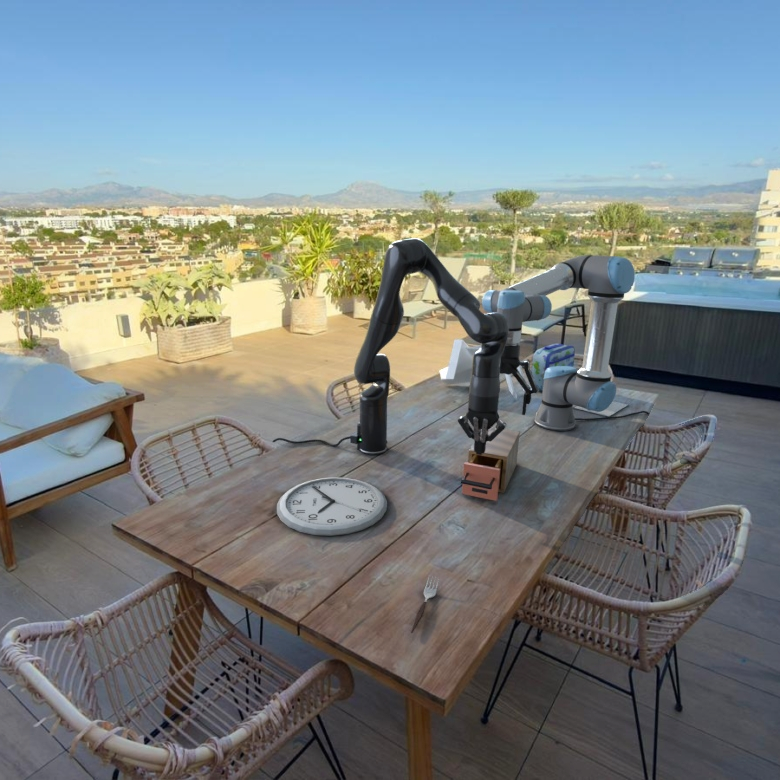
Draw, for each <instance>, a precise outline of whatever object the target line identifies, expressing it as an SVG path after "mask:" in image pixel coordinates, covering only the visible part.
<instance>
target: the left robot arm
mask: <svg viewBox="0 0 780 780" xmlns="http://www.w3.org/2000/svg"><path fill="white" fill-rule="evenodd" d="M383 259H384V260H383V265H382V272H381V277H380V283H379V287H378V290H377V293H376V294H377V295H376V299H375V302H374V305H373V308H372V312H371V315H370V317H369V318H370V319H369V321H368V326H367V330H366V332H365V336H364V339H363V342H362V345H361V346H360V349H359V352H358V354H357V356H356V359H355V362H354V368H353V374H354V378H355V380H356V382H358V383H359V384H362V385H368V384H371V385H370V386H369V387H368V388H366V389H365V390H363V391H361V393H360V394H359V422H358V423H357V425H356V431H355V432H354V433H352V434H351V435H349V436H346V437H342V438H341V439H340V440H339V441H338V442H337V443H335V444H332V443H330V442H328V441H325V440H323V439H306V440H300V441H299V440H298V441H294V440H290V439H286V438H283V437H276V438H274V439H272V441H271V442H272V443H276V442H277V441H282V442H287V443H289V444H296V445H297V444H306V443H315V442H317V443H321V444H322V443H323V444H325V445H326V446H329V447H338V446H340V445H341V444H342V442H344V441H346V440H349V441H350V444H353V445H357V446H356V450H357V451H360V452H361V453H363V454H365V455H371V456H372V455H373V456H374V455H376V456H377V455H381V454H384V453H386V452H387V450H388V439H387V438H388V437H387V436H388V397H389V394H390V381H391V379H390V378H391V365H390V360H389V358H388V356H387V355H386V354H384V353H379V352H380V351H382V349H383V348H385V347H386V346H387V345H388V344H389V343H390V342H391V341H392V340H393V339H394V338H395V337H396V335H397V334H398V332H399V330H400V327H401V324H402V322H403V318H404V315H405V307H404V304H403V301H402V298H401V288H402V285H403V282H404V279H405V278H406V277H407V276H408V275H413V274H417V273H420V274H422V275H423V276H424V277H426V278H427V279H428V280H430V282H431V283H432V285H433V288H434V290H435V295H436V297H437V299H438V301H439V302H440V304H441V305H442V306H443V307H444V308H445V309H446V310H447V311H448V312H449V313H450V314H451V315H453V316H454V317H455V318H456V319H457V320H458V322H459V324H460V326H462V327H461V328H463V330H464V332H465V333H466V334H467V336H468V337H469V338H470V339H471V340H472V341H474V342H476V343H478V344H480V345H481V348H480V349H479V350H478V351H477V352H475V353H474V355H473V360H472V374H471V380H470V382H469V389H468V391H469V392H468V406H467V410H466V413H465V414H464V415H461V416H460V417H459V418H458V419H457V423H458V424H459V425H460V427H461V428H462V430H463V431H464V433H465V434H466V437H467V438H468V439H472V440H473V441H474V442H473V444H474V452H476V454H478V455H482V454H483V453H484V452H485V450H486V441H492V440H493V439H494V438H495V437H496V436H497V435H498V434H499V433H501V432H502V431H503V430H504V429H506V427H507V423H506V422H505V421H504V422H503V421H502V420H501V419H500V415H499V412H498V411H499V398H500V391H501V388H500V387H501V380H500V376H501V374H500V363H501V357H502V354H503V352H504V348H505V345H506V342H507V338H508V333H509V325H508V321H507V319H506V317H505V316H504V315H503V314H501V313H497V312H494V313H488V312H487V313H483V312H482V311H481V310H480V307H481V302H480V301H479V299H478V298H477V297H476V296H475V295H474V294H473V293H472V292H471V291H469V290H468V289H467V288H466V287H465V286H464V285H462V284H461V283H460V282H459V281H458V280H457V279H456V278H455V277H454V276H453V275H452V274H451V273H450V271H449V270H448V269H447V268H446V267H445V265H444V263H442V262H441V260H440V259H439V258H438V257H437V255H436V254H435V253H434V252H433V250H432V249H431V248H430V247H429V246H428V244H427V243H426V242H424V241H423V240H422V239H420V238H415V237H414V238H413V237H412V238H406V239H401V240H396V241H394V242H392V243H390V244H389V245H388V247H387V249H386V251H385V255H384V258H383ZM495 424H496V425H495ZM494 425H495V428H497V429H495V430H494V431H493V432H492V433H491V434H490V435H488V431H489V429H490V428H491V427H494ZM480 438H481V439H480Z"/></svg>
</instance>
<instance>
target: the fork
mask: <svg viewBox="0 0 780 780" xmlns="http://www.w3.org/2000/svg"><path fill="white" fill-rule="evenodd" d="M430 576H431V574H429V575H428V578H427V581H426V585H425V587H424V589H423V595H424V598H425V600H424V601H423V603H422V604H421V605H420V607H419V608H418V610H417V613H416V615H415V619H414V622H413V626H412V629H411V630H410V631H411V632H410V634H413V633H414V632H415V629H416V627H418V624H419V622H420V621H421V619H422V618H423V616H424V613H425V609H426V605H427V603H428V600H429V599H432V598H434V597H435V596H436V595H437V592H438V588H439V584H440V583H439V582H440V576H439V577H438V579H437V577H435V578H434V575H432V577H431V579H430ZM433 578H434V579H433ZM433 580H434V581H433ZM436 580H437V582H436ZM429 582H430V583H429ZM432 583H433V584H432ZM435 585H436V586H435Z"/></svg>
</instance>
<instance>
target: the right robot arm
mask: <svg viewBox="0 0 780 780" xmlns="http://www.w3.org/2000/svg"><path fill="white" fill-rule="evenodd" d="M635 273H636V272H635V269H634V265H633V264H632V262H631V261H630V259H628V258H627V257H622V256H616V255H595V254H594V255H593V254H584V255H583V254H582V255H579V256H576V257H575V256H574V257H572V258H569V259H566V260H563V261H561V262H558V263H556V264H554V266H553V267H552V268H551V269H550V270H547V271H544V272H542V273H539V274H537V275H535V276H533V277H531V278H528V279H526V280H524V281H520V282H518V283H516V284H514V285H511V286H509V287H506V288H504V289H501V290H497V289H490V290H487V291H486V292H485V293H484V295H483V297H482V300H481V306H482V309H483V310H484V311H485V312H486V313H487V314H488V313H494V312H497V313H501V314H503V315H504V316H505V317H506V319H507V321H508V325H509V333H508V338H507V342H506V345H505V348H504V352H503V354H502V357H501V363H500V375H502V374H504V375H505V374H508V375H509V374H510V375H512V376H513V377H514V378H515V380H516V381H517V382H518V384H519V385H520V386H521V389H522V388H523V389H524V390H525V393H524V392H523V400H522V410H521V416H525V415H526V413H527V405H530V404H531V403H532V402H531V401H532V394H537V393H538V391H539V390H538V387H537V385H536V382H535V380H534V377H533V375H532V369H531V368H530V367H531V366H530V365H531V364H530V361H529V360H528V359H527V360H523V361H522V360H520V352H521V345H520V343H521V342H522V341H521V340H522V333H523V332H522V331H523V330H522V329H523V323H526V322H534V321H535V322H536V321H537V322H538V321H541V320H544V319H547V318H548V317H549V316H550V315H551V312H552V307H553V305H552V301H551V300H550V298H549V297H548V295H551V294H553V293H555V292H557V291H567V290H569V289H583V290H587V297H588V298H589V299H590V301H591V302H590V308H589V309H590V310H589V316H588V323H587V330H586V337H585V344H584V352H583V357H582V366H581V367H580V368H579V369H578V368H577V367H576V366H573V367H571V366H555V367H549V368H547V369H546V371H545V375H544V378H543V379H544V381H543V390H542V394H541V402H540V405H539V407H538V410H537V411H536V413H535V417H534V424H535V425H536V426H537V427H539V428H542V429H544V430H549V431H556V432H567V431H572V430H574V429H575V428H576V421H599V420H611V419H612V420H613V419H623V418H626V417H630V416H633V415H638V414H644V413H645V414H647V415H650V413H649V412H648V411H646V410H640V411H636V412H630V413H627V414H624V415H619V416H616V415H615V416H609V417H608V416H604V417H593V418H592V417H591V418H582V417H581V418H580V417H579V418H578V417H576V416H575V413H574V407H573V406H575V407H576V406H579V407H582V408H585V409H587V410H592V411H596V412H601V411H604V410H605V409H607V408H608V407H609V405H610V404H611V403H612V401H614V400H615V398H616V397H615V396H616V394H617V386H616V385H617V384H615V383H614V381H612V380H611V379H612V374H611V372H610V371H609V363H610V358H611V350H612V346H613V345H612V344H613V338H614V333H615V332H614V331H615V327H616V326H615V325H616V318H617V313H618V306H619V303H620V302H621V301H622V300H624V299H625V294H628V293H629V292H630V291H631V290H632V287H633V286H634V283H635V278H636V277H635V275H636V274H635ZM519 365H521V368H522V370H524V373H525V376H526V378H527V380H528V381H526V379H525V380H524V378H525V377H524V378H523V377H522V376H521V374H520V372H519V371H518V369H517V368H518V367H519ZM528 383H529V384H528ZM523 389H522V390H523ZM575 417H576V418H575Z"/></svg>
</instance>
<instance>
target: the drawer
mask: <svg viewBox="0 0 780 780" xmlns="http://www.w3.org/2000/svg"><path fill="white" fill-rule="evenodd" d="M502 468H503V459H497V458H492V457H486V456H481V455H475V454H474V456H473V457H472V459H471V461H470V463H468V461H467V462H466V461H465V462H464V463H463V470H462V471H463V472H462V473H463V474H462V478H461V479H460V484H462V487H461V494H462V495H466V496H471V497H476V498H480V499H485V500H490V501H495V502H498V500H499V492H498V489H499V486H500V484H501V479H502Z"/></svg>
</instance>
